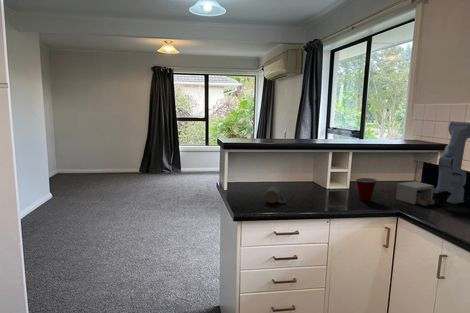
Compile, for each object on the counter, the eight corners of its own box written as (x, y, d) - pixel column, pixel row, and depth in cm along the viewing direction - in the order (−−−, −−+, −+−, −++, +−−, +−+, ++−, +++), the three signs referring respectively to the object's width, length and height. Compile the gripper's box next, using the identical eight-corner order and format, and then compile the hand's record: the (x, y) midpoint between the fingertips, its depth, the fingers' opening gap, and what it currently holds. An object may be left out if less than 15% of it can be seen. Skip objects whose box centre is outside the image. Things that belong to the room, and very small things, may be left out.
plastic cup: (357, 196, 184) (359, 176, 183) (377, 200, 178) (379, 179, 176) (351, 200, 176) (352, 179, 174) (371, 204, 169) (373, 182, 168)
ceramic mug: (263, 203, 167) (264, 189, 166) (266, 199, 175) (267, 185, 174) (284, 205, 164) (285, 191, 163) (286, 201, 172) (287, 187, 171)
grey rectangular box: (413, 196, 187) (415, 181, 186) (431, 201, 177) (433, 185, 176) (395, 198, 181) (397, 183, 179) (414, 204, 171) (415, 188, 169)
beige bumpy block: (416, 199, 182) (417, 189, 181) (434, 204, 173) (435, 194, 172) (407, 201, 178) (408, 191, 177) (424, 206, 169) (425, 195, 168)
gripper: (443, 182, 156) (440, 209, 158) (461, 180, 162) (458, 206, 164) (429, 179, 163) (426, 205, 165) (447, 177, 169) (444, 202, 171)
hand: (441, 205), depth 165 cm, fingers closed
